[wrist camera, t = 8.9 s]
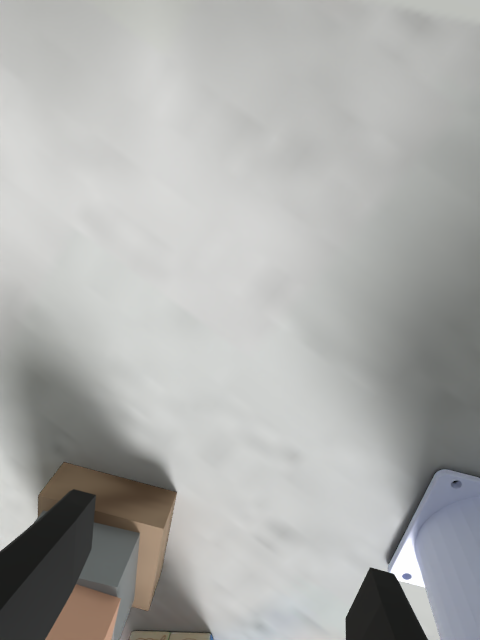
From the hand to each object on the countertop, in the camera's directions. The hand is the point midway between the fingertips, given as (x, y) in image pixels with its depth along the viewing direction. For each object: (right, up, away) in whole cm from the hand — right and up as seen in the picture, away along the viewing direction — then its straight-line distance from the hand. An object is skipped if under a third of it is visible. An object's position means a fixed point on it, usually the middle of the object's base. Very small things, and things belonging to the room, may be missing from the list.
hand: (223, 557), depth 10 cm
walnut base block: (-7, -6, +15) cm, 18 cm away
